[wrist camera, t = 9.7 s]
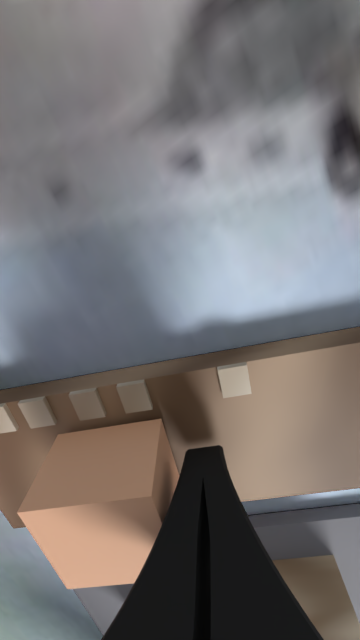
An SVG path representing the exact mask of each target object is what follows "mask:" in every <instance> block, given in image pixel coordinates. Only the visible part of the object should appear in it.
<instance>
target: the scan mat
mask: <svg viewBox="0 0 360 640" xmlns="http://www.w3.org/2000/svg"><path fill="white" fill-rule="evenodd" d="M248 517H249V519H250V521H251V523H252V525H253V527H254V529H255V531H256V533H257V535H258V537H259V538H260V540H261V542H262V544H263V546H264V547H265V549H266V551H267V553H268V554H269V556H270V558H271V560H282V559H293V558H304V557H314V556H325V555H334V558H335V560H336V563H337V566H338V568H339V571H340V574H341V576H342V579H343V581H344V584H345V587H346V589H347V592H348V595H349V597H350V600H351V602H352V605H353V608H354V610H355V613H356V616H357V618H358V621H359V623H360V503H358V504H349V505H340V506H331V507H322V508H313V509H304V510H295V511H286V512H277V513H268V514H259V515H250V516H248ZM133 585H134V583H133V584H121V585H110V586H99V587H88V588H76V589H73V590H74V592H75V593H76V595H77V596H78V598H79V599H80V601H81V602H82V604H83V606H84V607H85V609H86V610H87V612H88V613H89V615H90V616H91V618H92V619H93V621H94V622H95V624H96V626H97V627H98V629H99V630H100V632H101V633H102V635H103V636H104V634H105V633H106V631H107V629H108V628H109V626H110V625H111V623H112V621H113V620H114V618H115V616H116V615H117V613H118V612H119V610H120V608H121V606H122V605H123V603H124V601H125V599H126V598H127V596H128V594H129V592H130V590H131V588H132V586H133Z"/></svg>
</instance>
